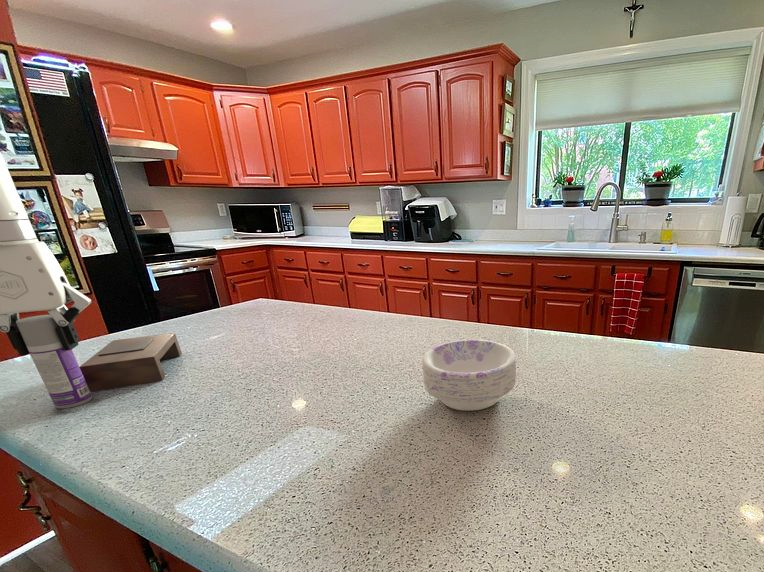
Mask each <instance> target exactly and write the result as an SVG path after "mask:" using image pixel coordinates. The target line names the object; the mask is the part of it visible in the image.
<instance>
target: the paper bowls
mask: <svg viewBox="0 0 764 572" xmlns="http://www.w3.org/2000/svg"><path fill="white" fill-rule="evenodd" d="M421 364H422V376H423V386H424V389H425V391H426V392H427V393H428V395H429V396H431V397H433V398H435V399H437V400H439V401H440V402H441V403H442V404H443V405H445V406H447V407H448V408H451V409H452V410H457V411H464V412H465V411H468V412H470V411H471V412H472V411H473V412H474V411H480V410H485V409H488V408H489V407H492V406H493V405H495V404H496V403H498V402H499V400H501V398H502V397H503V396H505V395H507V394H509V393H510V392H511V391H513V389H514V388H515V385H516V381H517V356H516V353H515V351H514V350H513V349H512V348H511V347H509V346H507V345H505V344H503V343H500V342H498V341H497V342H496V341H492V340H485V339H460V340H453V341H448V342H443V343H441V344H438V345H435V346H433V347H431V348H429V349H428V350H427V351H426V352H425V353H424V354H423V356H422V359H421Z"/></svg>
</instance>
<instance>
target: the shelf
mask: <svg viewBox="0 0 764 572" xmlns="http://www.w3.org/2000/svg"><path fill="white" fill-rule="evenodd" d="M182 354H183V353H182V350H181V347H180V344H179V341H178V337H177V334H176V332H170V333H161V334H153V335H147V336H146V335H145V336H137V337H130V338H122V339H121V338H119V339H113V340H111V341H110V342H109V343H107V345H105V346H104V347H103V348H101V349H100V350H99V351H98V352H96V353H95V354H94V355H92V356H91V357H90V358H89V359H87V360H86V361H84V362H83V363H82V364H80V365H79V367H80V370H81V372H82V374H83V377H84V379H85V381H86V384H87V386H88V388H89V390H90V393H93V392H98V391H99V392H100V391H105V390H111V389H118V388H125V387H130V386H136V385H143V384H149V383H156V382H161V381H164V379H165V378H166V375H165V372H164V369H163V366H162V363H161V360H165V359H171V358H178V357H181V356H182Z"/></svg>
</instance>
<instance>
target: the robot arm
mask: <svg viewBox="0 0 764 572" xmlns="http://www.w3.org/2000/svg"><path fill="white" fill-rule="evenodd" d="M71 302H73V304H72V305H71V306H70V307H69V308H68V307H67V306H66V305H65V304H69V303H71ZM90 304H92V299H91V298H89V297H88V296H87V295H85V294H83V293H82V292H80V291H79V290H77V289H76V288H74V287H73V286H71V283H70V282H69V279H68V277H67V276H66V274H65V272H64V270H63V268H62V267H61V265H60V263H59V261H58V260H57V258H56V257H55V255H54V254H53V252H52V250H51V249H50V248H49V246H48V245H47V243H46V242H45V241H39V239H38V236H37V235H36V232H35V229H34V227H33V225H32V223H31V220H30V219H29V216H28V213H27V212H26V208H25V206H24V204H23V201H22V199H21V196H20V195H19V193H18V190H17V187H16V185H15V182H14V180H13V178H12V176H11V173H10V171H9V168H8V166H7V163H6V161H5V158H4V156H3V154H2V152H0V332H1V333H6V336H7V338H8V340H9V342H10V344H11V346H12V348H13V350H15V351H17V353H18V355H19V356H20V357H23V356H27V355H30V353H29V351H28V349H27V346H26V344H25V342H24V340H23V337H22V335H21V333H20V330H19V328H18V326H17V324H16V321H17V320H20V313H30V312H43V311H46V312H47V313H48V315H51V316H52V318H53V319H54V320H55V321H56V322H57V324H58V327H56V328H55V330H56V332H57V334H58V337H59V339H60V341H61V343H62V346H63V348H64V349H65V350H72V351H73V349H75V348H76V347H78V346H79V342H80V337H79V335H78V332H77V330H76V328H75V325H74V322H75V321H76V319H77V318H78V316H79V315H80V314H81V313H82V312H83V311H84V310H85V308H87V307H88V306H89V305H90Z"/></svg>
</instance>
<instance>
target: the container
mask: <svg viewBox="0 0 764 572" xmlns="http://www.w3.org/2000/svg"><path fill="white" fill-rule="evenodd" d="M16 324H17V326H18V328H19V330H20V333H21V335H22V337H23V340H24V342H25V344H26V346H27V349H28V351H29V355H30V357H31V360H32V361H33V363H34V365H35V368H36V370H37V371H38V372H37V373H38V374H39V376H40V378H41V380H42V383H43V385H44V386H45V388H46V391H47V393H48V395H49V397H50V399H51V401H52V403H53V405H54V407H55V409H70V408H74V407H78V406H81V405H83V404H86V403H89V402H90V401H91V400H92V399H93V396H92V392H90V390H89V388H88V386H87V384H86V381H85V379H84V377H83V374H82V372H81V370H80V365H79V363H78V360H77V358H76V356H75V354H74V351H73V349H72V350H65V349H64V348H63V346H62V343H61V341H60V339H59V337H58V334H57V332H56V330H55V328H56V327H58V324H57V322H56V321H55V320H54V319H53V318H52V316H51V315H50V314H40V315H35V316H33V315H32V316H27V317H24V318H19V320H17V321H16Z"/></svg>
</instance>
